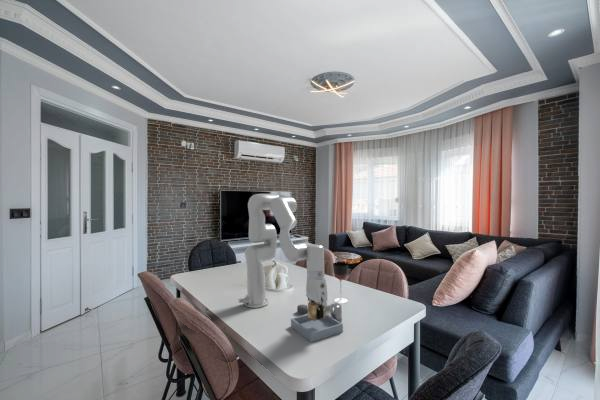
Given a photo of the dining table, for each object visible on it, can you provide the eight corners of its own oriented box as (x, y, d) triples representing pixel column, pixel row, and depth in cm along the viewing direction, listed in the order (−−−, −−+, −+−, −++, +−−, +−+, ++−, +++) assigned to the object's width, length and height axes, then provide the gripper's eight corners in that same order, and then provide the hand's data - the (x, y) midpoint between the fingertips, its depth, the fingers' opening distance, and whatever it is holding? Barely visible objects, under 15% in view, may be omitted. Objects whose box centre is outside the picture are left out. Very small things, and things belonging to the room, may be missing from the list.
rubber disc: (300, 315, 131) (300, 309, 131) (295, 311, 135) (295, 305, 135) (309, 313, 133) (309, 307, 133) (304, 309, 138) (304, 303, 138)
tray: (310, 342, 106) (310, 333, 106) (291, 326, 119) (290, 318, 119) (342, 331, 114) (342, 323, 114) (320, 317, 128) (320, 310, 128)
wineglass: (339, 304, 143) (339, 266, 144) (330, 299, 151) (329, 263, 151) (351, 301, 147) (351, 264, 147) (342, 296, 155) (341, 261, 155)
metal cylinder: (335, 324, 121) (335, 308, 121) (328, 320, 125) (328, 305, 125) (343, 321, 123) (343, 306, 123) (337, 317, 127) (336, 302, 128)
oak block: (325, 317, 116) (325, 303, 116) (313, 320, 113) (313, 306, 113) (319, 314, 120) (319, 300, 120) (307, 317, 117) (307, 303, 117)
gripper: (334, 276, 111) (335, 321, 111) (312, 268, 126) (312, 308, 126) (319, 279, 107) (320, 326, 107) (298, 270, 122) (298, 311, 122)
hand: (316, 315), depth 116 cm, fingers closed on oak block, 4 cm apart
